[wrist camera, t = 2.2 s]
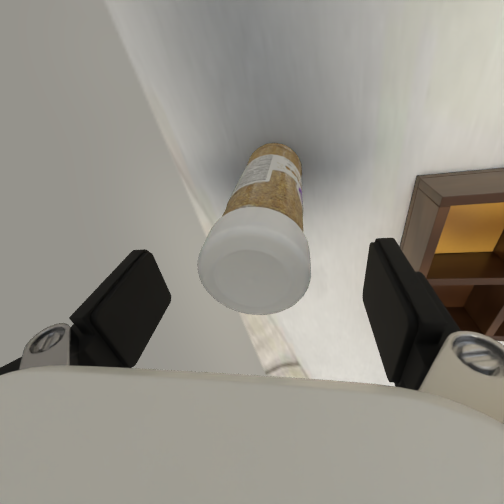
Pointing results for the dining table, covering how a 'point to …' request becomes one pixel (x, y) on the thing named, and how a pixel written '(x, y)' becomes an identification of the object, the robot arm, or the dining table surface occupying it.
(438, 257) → the tray
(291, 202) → the sprinkles bottle
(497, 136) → the dining table surface
